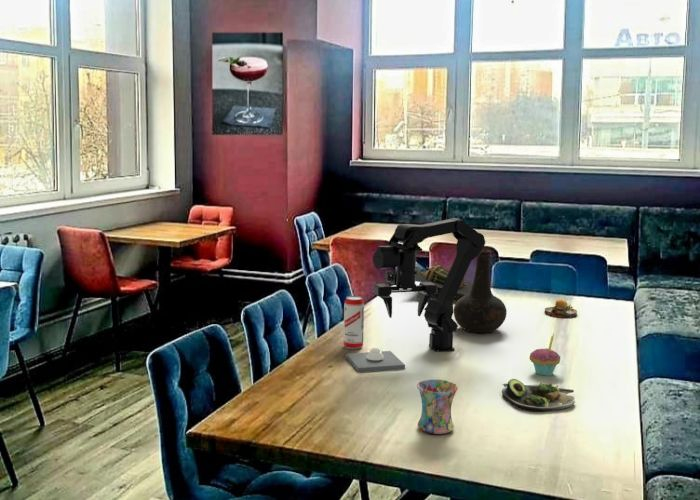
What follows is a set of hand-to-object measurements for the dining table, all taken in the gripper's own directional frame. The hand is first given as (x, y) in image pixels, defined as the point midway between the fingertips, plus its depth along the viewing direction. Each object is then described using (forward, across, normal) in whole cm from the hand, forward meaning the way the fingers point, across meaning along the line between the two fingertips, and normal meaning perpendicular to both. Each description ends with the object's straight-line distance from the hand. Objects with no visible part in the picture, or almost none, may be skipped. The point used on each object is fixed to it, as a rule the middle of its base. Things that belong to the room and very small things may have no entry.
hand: (404, 316), depth 236 cm
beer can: (+12, +13, -11) cm, 21 cm away
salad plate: (+13, -21, +44) cm, 50 cm away
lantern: (+12, -41, -77) cm, 88 cm away
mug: (+12, +12, +58) cm, 60 cm away
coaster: (+12, +11, +6) cm, 17 cm away
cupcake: (+12, -34, +25) cm, 44 cm away
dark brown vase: (+12, -35, -22) cm, 43 cm away
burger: (+12, -75, -37) cm, 85 cm away
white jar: (+11, +11, +6) cm, 17 cm away
